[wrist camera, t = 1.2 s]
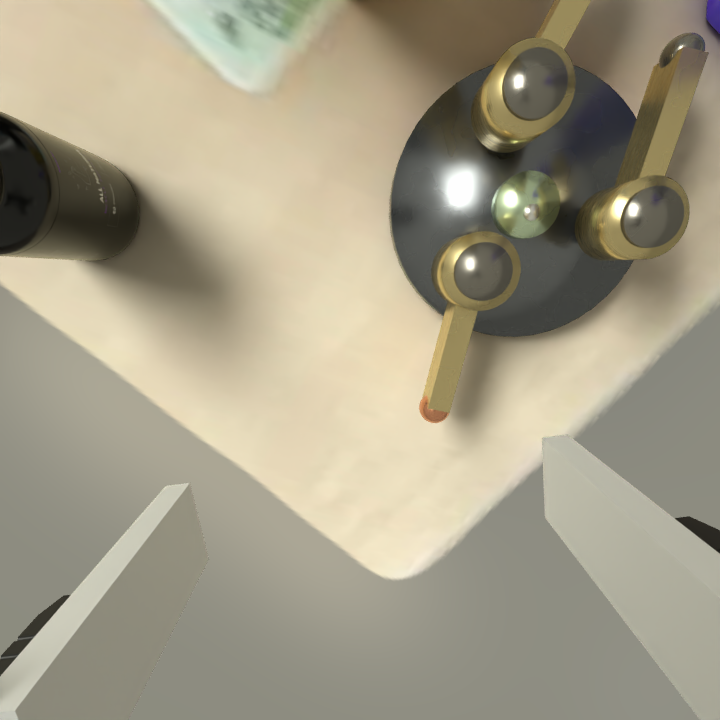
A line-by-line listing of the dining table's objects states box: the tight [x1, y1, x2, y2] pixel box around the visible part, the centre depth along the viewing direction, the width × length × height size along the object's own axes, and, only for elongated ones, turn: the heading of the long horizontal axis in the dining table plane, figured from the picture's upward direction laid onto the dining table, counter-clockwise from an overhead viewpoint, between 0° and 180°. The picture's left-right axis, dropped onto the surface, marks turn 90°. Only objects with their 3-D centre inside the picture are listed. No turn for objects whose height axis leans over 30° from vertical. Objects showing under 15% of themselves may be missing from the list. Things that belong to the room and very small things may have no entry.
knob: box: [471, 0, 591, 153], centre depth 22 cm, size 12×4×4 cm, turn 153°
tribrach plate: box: [389, 64, 636, 337], centre depth 26 cm, size 17×17×3 cm
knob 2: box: [575, 33, 708, 260], centre depth 23 cm, size 12×4×4 cm, turn 168°
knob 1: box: [419, 231, 521, 423], centre depth 25 cm, size 12×4×4 cm, turn 168°
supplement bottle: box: [0, 112, 139, 261], centre depth 22 cm, size 7×7×12 cm
